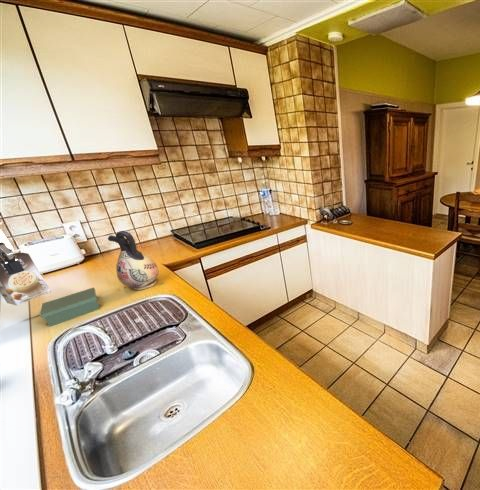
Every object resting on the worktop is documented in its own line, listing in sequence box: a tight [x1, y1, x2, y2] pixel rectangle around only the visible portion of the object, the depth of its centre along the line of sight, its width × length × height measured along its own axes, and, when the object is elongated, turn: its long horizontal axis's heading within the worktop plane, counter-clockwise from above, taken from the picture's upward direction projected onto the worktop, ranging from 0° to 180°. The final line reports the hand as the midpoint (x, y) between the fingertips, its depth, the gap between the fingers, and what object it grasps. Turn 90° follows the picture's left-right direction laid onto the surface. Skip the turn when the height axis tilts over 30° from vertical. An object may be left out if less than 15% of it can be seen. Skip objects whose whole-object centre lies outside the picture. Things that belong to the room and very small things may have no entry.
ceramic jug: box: [107, 230, 159, 291], centre depth 127 cm, size 17×15×30 cm
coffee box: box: [0, 252, 52, 306], centre depth 93 cm, size 9×6×16 cm
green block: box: [39, 287, 101, 327], centre depth 114 cm, size 16×12×6 cm
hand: (12, 270), depth 92 cm, fingers closed on coffee box, 6 cm apart
